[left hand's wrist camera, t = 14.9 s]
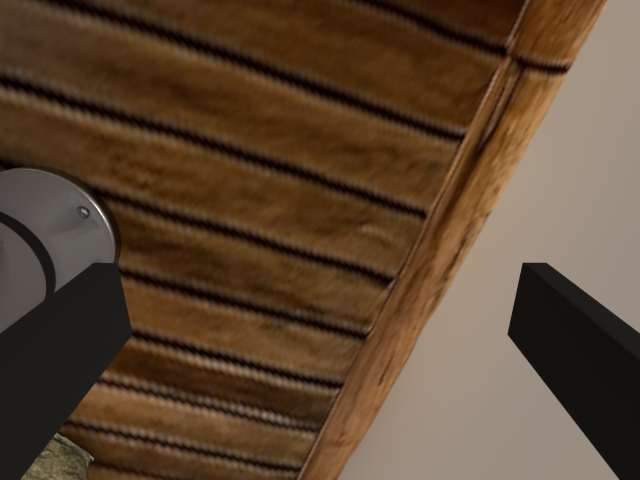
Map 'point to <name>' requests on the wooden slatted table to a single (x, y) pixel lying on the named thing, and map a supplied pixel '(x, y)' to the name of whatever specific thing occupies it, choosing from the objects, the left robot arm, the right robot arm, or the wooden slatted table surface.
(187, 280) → the wooden slatted table surface
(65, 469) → the fossil
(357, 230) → the wooden slatted table surface
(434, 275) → the wooden slatted table surface
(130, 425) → the wooden slatted table surface
